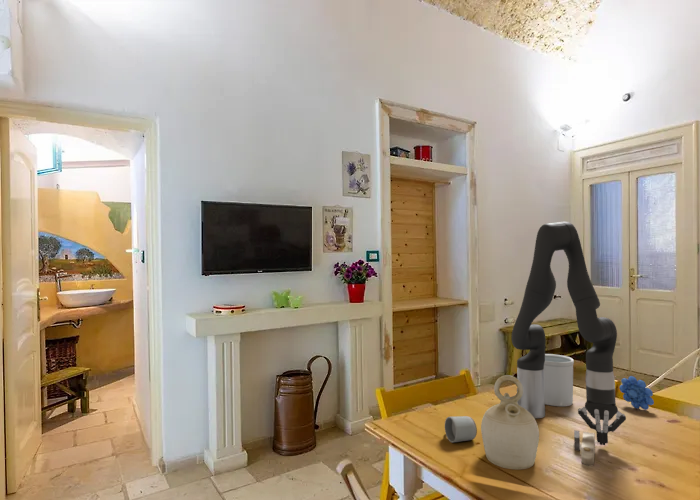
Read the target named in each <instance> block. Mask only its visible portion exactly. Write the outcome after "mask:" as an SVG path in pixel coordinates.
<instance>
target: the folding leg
mask: <svg viewBox="0 0 700 500" xmlns="http://www.w3.org/2000/svg"><path fill="white" fill-rule="evenodd" d="M582 432H583V433H582V440H581V445H580V452H581V453H580V454H581V457H580V458H581V460H580V461H581V463H582V464H583V465H586V466H594V463H595V452H596V451H595V450H596V449H595V448H596V438H595V433H596V432H589V431H582Z"/></svg>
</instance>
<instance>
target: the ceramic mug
mask: <svg viewBox="0 0 700 500" xmlns="http://www.w3.org/2000/svg"><path fill="white" fill-rule="evenodd" d="M477 428H478V427H477V423H476V422H475V419H473V417H472V416H467V415H464V416H463V415H462V416H448V417H446V418H445V421H444V432H445V436H446V439H447V440H448V441H449V442H450V443H452V444H454V443H459V442H466V441H471V440H474V439H475V438H476V437H477V434H478V429H477Z"/></svg>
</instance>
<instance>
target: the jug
mask: <svg viewBox="0 0 700 500" xmlns="http://www.w3.org/2000/svg"><path fill="white" fill-rule="evenodd" d="M506 382H512V383H513V384H514V385H515V386H516V387H517V388H518V391H517V390H516V394H515V395H513V396H510V393H508V392H505V393H504V394H503V395H502V393H501V392H500V387H501V385H502V384H503V383H506ZM517 388H516V389H517ZM493 390H494V391H493V392H494V395H495V396H496V397H497V399H499V400H500V402H499V403H497V404H495V405H492V406H490V407H489V408H488V409H487V410H485V412H484V414H483V417H482V419H481V424H480V431H481V438H482V443H483V448H484V453H485V456H486V459H487V460H488V461H489V463H491V464H494V465H495V466H497V467H500V468H503V469H509V470H517V471H518V470H526V469H529V468H532V467H533V466H534V464H535V461H536V457H537V453H538V447H539V440H540V430H539V427H538V422H537V421H536V418H534V417H533V416H532V414H531V413H530V412H528V411H527V410H526V409H524V408H523V407H521V406H519V405H518V403H517V401H518V400H519V399H520V398H521V397H522V395H523V386H522V384H521V382H520V381H519V380H518V379H517V377H515V376H513V375H509V374H505V375H502V376H500V377H498V378H497V380H496V381H495V383H494V386H493Z"/></svg>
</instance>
